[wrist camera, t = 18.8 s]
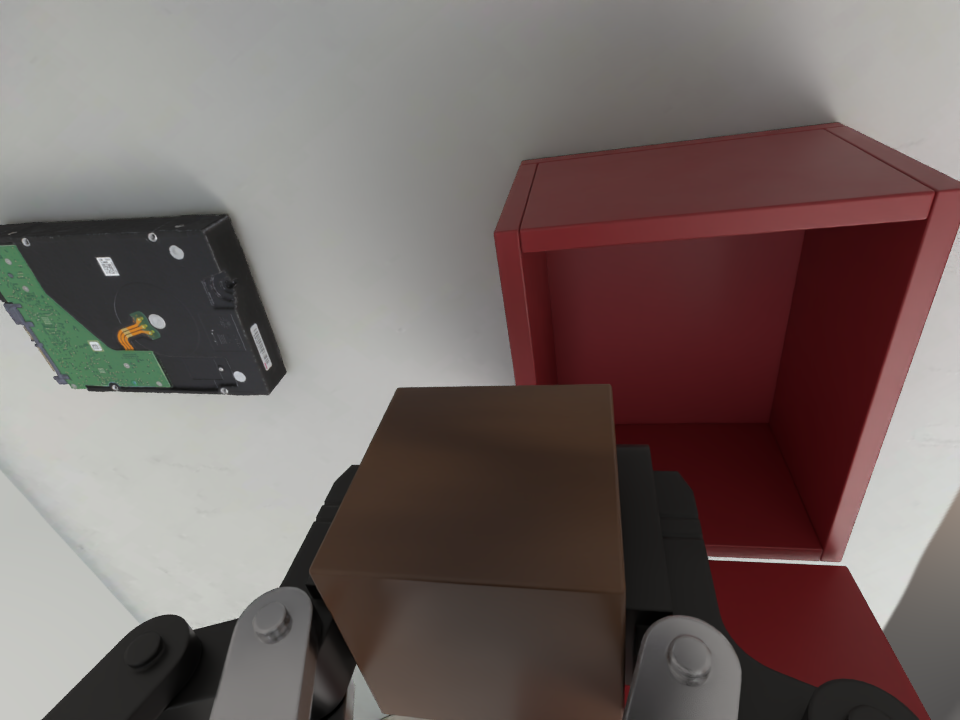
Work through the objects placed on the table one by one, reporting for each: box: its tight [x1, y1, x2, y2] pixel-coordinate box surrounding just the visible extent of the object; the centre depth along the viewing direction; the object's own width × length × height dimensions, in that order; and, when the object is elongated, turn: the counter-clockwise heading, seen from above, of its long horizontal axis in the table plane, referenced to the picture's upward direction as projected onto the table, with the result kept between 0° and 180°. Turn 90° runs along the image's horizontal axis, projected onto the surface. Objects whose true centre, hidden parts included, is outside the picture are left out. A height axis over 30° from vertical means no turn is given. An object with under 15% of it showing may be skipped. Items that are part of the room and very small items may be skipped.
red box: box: [494, 122, 960, 562], centre depth 23 cm, size 16×13×9 cm
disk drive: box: [0, 214, 287, 395], centre depth 30 cm, size 10×3×15 cm
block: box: [309, 384, 626, 720], centre depth 10 cm, size 4×4×4 cm
